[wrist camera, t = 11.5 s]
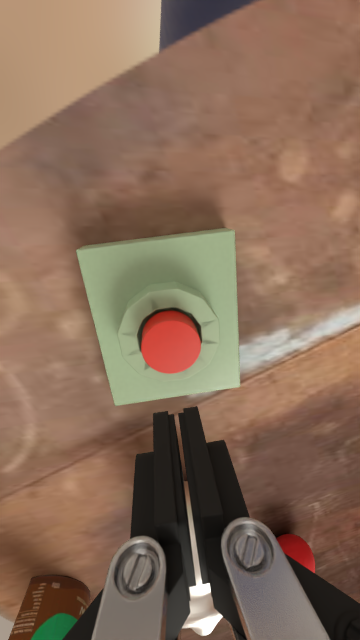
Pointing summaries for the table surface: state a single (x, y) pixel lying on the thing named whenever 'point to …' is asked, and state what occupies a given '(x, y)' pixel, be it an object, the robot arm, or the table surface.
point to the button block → (164, 309)
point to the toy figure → (297, 550)
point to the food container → (50, 608)
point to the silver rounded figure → (199, 589)
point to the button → (170, 342)
